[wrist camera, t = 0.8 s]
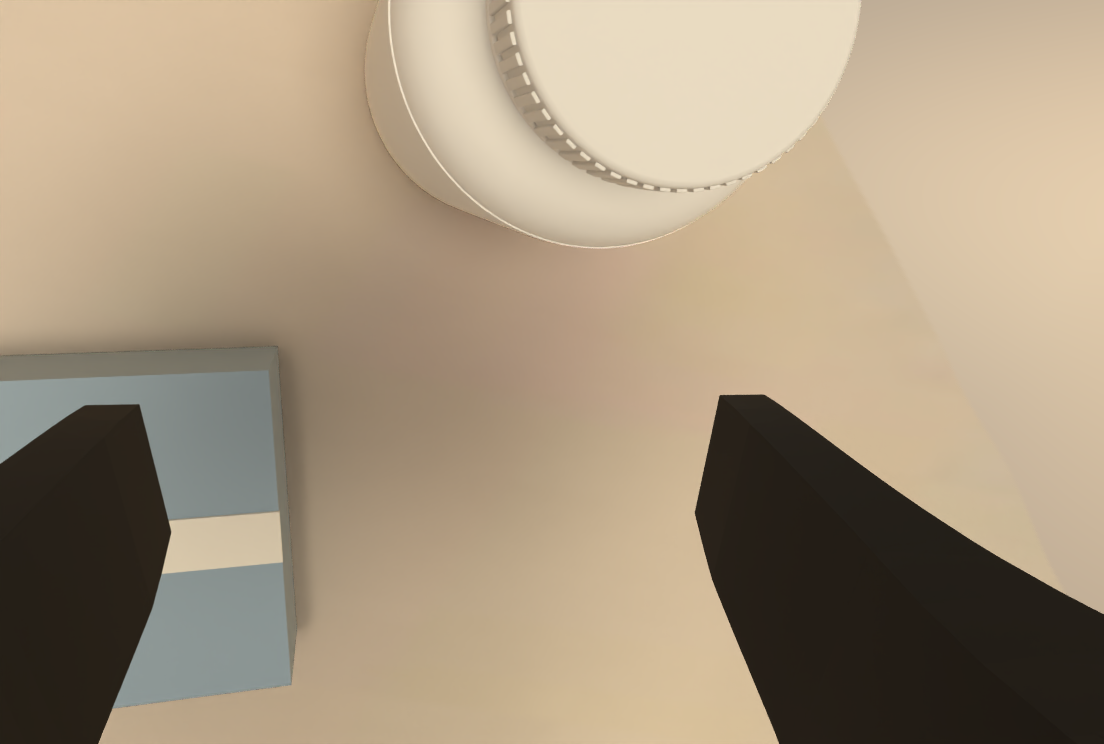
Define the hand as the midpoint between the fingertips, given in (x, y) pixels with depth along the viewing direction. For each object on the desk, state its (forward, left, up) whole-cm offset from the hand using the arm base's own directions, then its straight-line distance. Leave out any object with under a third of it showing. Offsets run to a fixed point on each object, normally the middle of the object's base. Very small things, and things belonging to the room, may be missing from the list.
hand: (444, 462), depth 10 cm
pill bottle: (+6, -4, -16) cm, 18 cm away
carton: (-7, +7, -17) cm, 19 cm away
